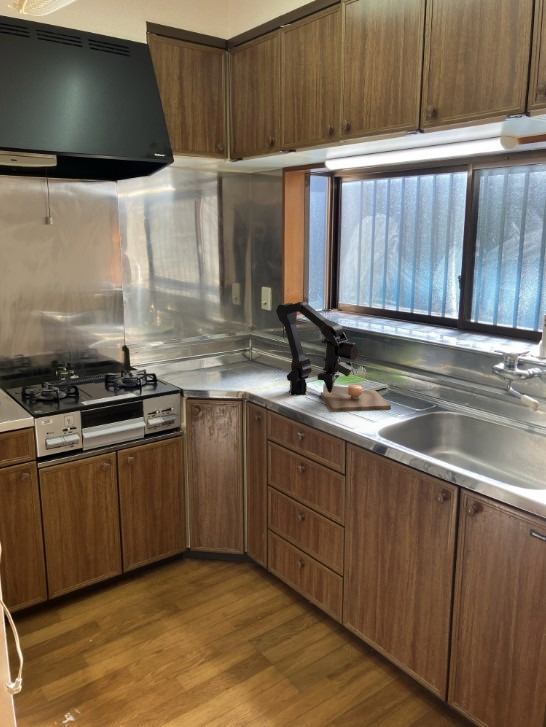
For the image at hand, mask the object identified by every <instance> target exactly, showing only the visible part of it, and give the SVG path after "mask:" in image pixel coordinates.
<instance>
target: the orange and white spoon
mask: <svg viewBox="0 0 546 727" xmlns="http://www.w3.org/2000/svg"><path fill="white" fill-rule="evenodd" d="M322 386H323V387H322V389H323V390H322V392H328V390H327V387H326V385H325V383H323V385H322ZM362 391H363V387H362V386H361V385H360V384H359V385H357V384H350V385H346V384H345V385H343V384H334V385H333V388H332V391H331V393H340V394H349V395H351V396H361V395H362ZM328 393H329V392H328Z"/></svg>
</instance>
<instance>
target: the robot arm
mask: <svg viewBox="0 0 546 727" xmlns="http://www.w3.org/2000/svg"><path fill="white" fill-rule="evenodd" d="M275 312H276V315H277V317H278V318H277V319H278V320H279V321H280V323H281V324H283V327H284V330H285V334H286V337H287V342H288V346H289V349H290V354H291V358H292V360H291V362H290V363H291V364H290V368H291V370H290V372H289V373H288V374H287V375H286V380H287V381H289V390H288V392H289V394H290V396H306V395H307V386H308V384H307V382H306V379H308V378H309V376H310V375H311V373H312V368H313V365H312V364H311V358H310V357H306V356H305V355H304V350H303V347H302V343H301V340H300V335H299V331H298V328H297V318H298V317H297V316H298V313H299V314H301V316H303V317H305V318H306V319H307V320H309V322H311V323H312V324H313V325H315V326H316V327H317V328H318V329H319V331H320V333H321V335H322V336H323V337H324V339H323V340H322V341H321V343H322V344H323V345H325V354H324V355H325V356H324V358H323V361H324V367H323V368H322V371H320V372H319V373H317V380H318V381H323V382H324V384H325V385H326V387H327V390H328V392H329V393H331V391H332V388H333V385H335V382H336V380H337V379H338V378H340V374H341V375H344V376H345V377H349V376H350V375H351V373H352V371H353V370H354V369H353V368H354V367H353V362H351V361H356V359H357V357H358V354H359V349H358V347H357V346H356V342H350V341H349V339H348V337H347V336H346V334H345V332H344V328H343V326H342V325H341V324H339V323H337V322H335V321H333V320H330V319H328V318H326V317H324V315H322V314H321V313H320V312H319V311H317V310H316V309H314V308H313V307H312V306H311V305H309V303H308V302H307V301H305V300H303V301H298V302H296V303H293V302H286V303H281V304H279V305H277V307H276V309H275ZM342 359H346V360H348V361H347V362H342ZM337 373H340V374H337Z"/></svg>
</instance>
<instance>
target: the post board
mask: <svg viewBox="0 0 546 727" xmlns="http://www.w3.org/2000/svg"><path fill="white" fill-rule="evenodd" d="M320 395H321V396H320V397H321V398H322V399H323V401H324V402H325V404H326V405H327V407H328V408H329V409H330V411H331V412H352V411H354V412H355V411H371V410H372V411H375V410H391V409H392V408H391V404H390V403H389V402H388V401H387V400H386V399H385V398H384V397H382V395H381V394H380V393H378V392H377V391H376V390H375V389H373V390H372V389H370V390H368V389H367V390H362V395H361V396H351V395H349V394H340V393H328V392H323V391H321V392H320Z"/></svg>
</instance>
